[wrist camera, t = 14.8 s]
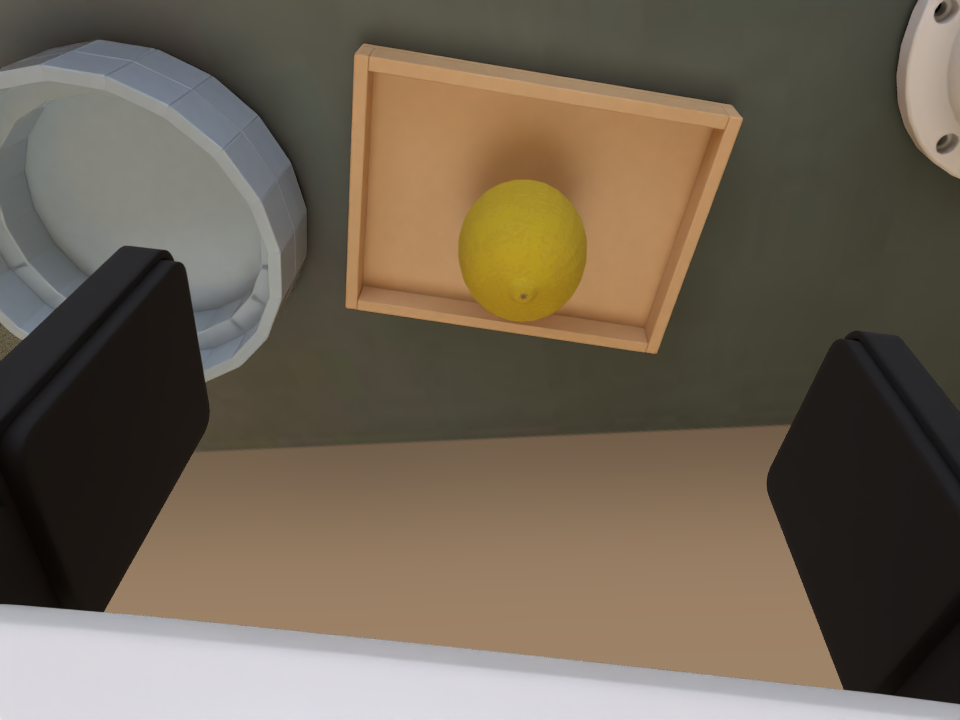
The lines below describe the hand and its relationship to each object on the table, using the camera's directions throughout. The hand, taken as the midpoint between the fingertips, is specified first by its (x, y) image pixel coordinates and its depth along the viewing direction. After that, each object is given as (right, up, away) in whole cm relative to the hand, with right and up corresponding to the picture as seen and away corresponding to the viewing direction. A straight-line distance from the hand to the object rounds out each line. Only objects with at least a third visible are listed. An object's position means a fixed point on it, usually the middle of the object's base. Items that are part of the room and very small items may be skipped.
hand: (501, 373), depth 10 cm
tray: (+2, +8, +23) cm, 24 cm away
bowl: (-16, +8, +24) cm, 30 cm away
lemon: (+2, +8, +23) cm, 24 cm away
